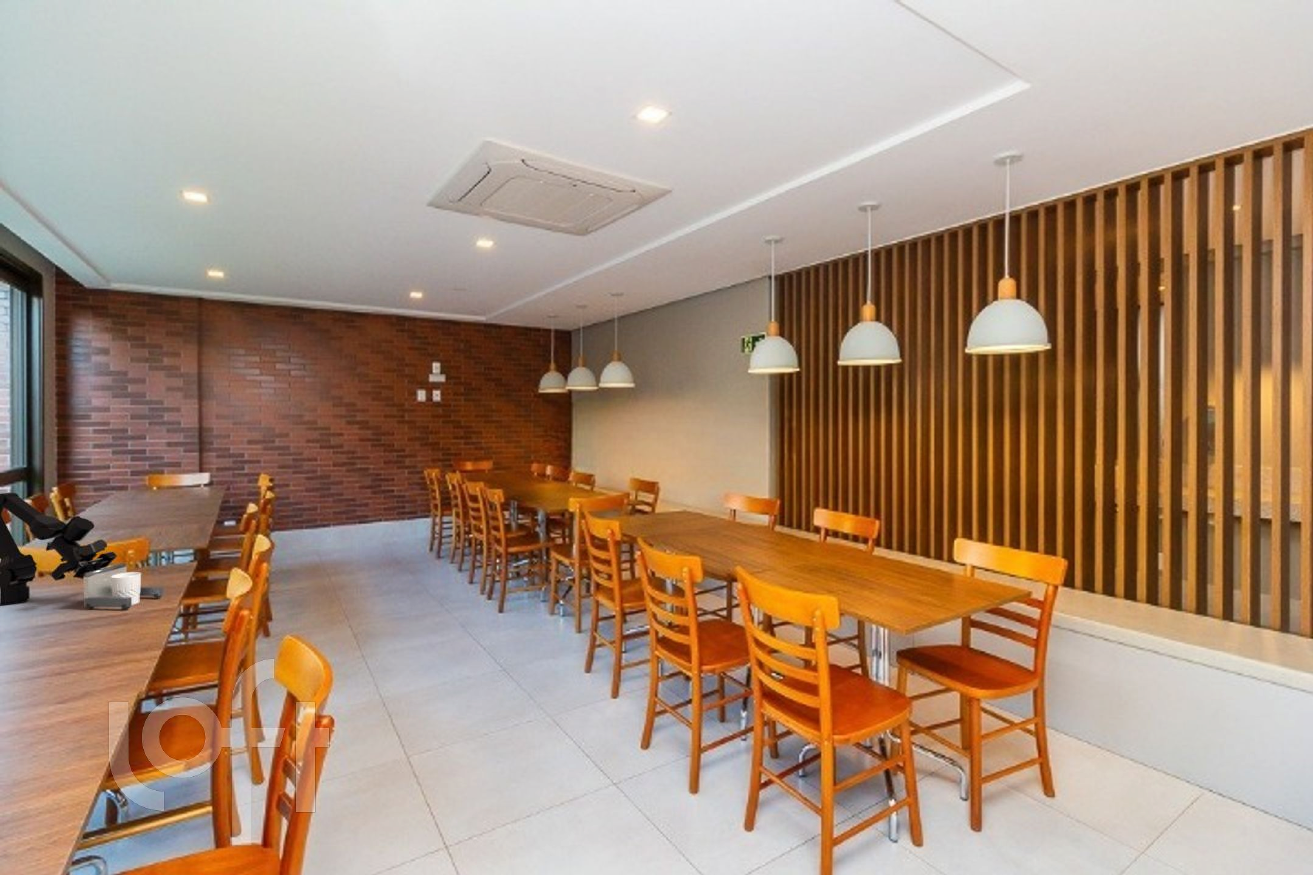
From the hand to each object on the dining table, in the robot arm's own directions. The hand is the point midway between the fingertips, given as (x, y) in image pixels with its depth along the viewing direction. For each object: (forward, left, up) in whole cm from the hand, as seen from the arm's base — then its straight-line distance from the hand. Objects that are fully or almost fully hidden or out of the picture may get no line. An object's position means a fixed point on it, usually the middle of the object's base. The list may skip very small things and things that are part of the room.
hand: (102, 582), depth 211 cm
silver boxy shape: (+5, -5, -7) cm, 10 cm away
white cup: (+6, -6, -7) cm, 11 cm away
